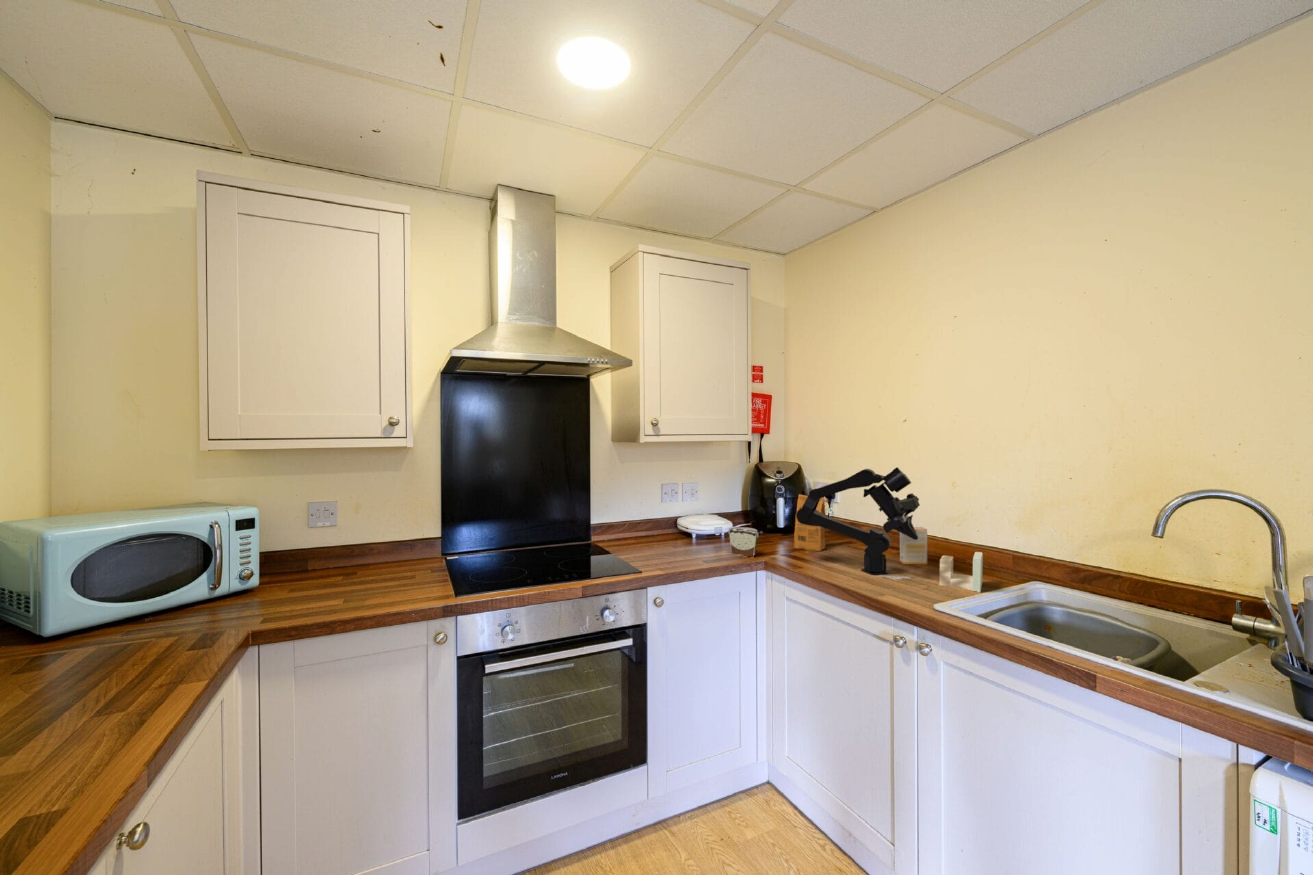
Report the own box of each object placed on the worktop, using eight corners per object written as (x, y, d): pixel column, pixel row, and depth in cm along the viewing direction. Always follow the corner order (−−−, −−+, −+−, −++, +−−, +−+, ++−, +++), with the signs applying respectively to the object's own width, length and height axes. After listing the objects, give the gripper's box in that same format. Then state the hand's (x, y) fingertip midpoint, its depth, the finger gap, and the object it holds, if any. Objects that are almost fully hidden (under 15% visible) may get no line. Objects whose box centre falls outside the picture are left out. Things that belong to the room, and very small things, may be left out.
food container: (763, 554, 205) (763, 529, 205) (757, 557, 200) (757, 531, 200) (734, 550, 212) (734, 525, 212) (727, 553, 207) (727, 528, 207)
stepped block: (939, 585, 166) (939, 560, 166) (942, 579, 173) (942, 555, 172) (972, 590, 161) (973, 564, 161) (974, 584, 167) (974, 559, 167)
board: (972, 591, 160) (972, 558, 160) (974, 582, 169) (975, 551, 169) (980, 592, 159) (980, 559, 158) (982, 583, 168) (982, 552, 167)
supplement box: (922, 561, 196) (922, 526, 195) (927, 565, 191) (927, 529, 191) (898, 561, 196) (899, 526, 196) (903, 564, 192) (904, 528, 191)
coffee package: (799, 544, 225) (799, 492, 224) (828, 548, 217) (828, 495, 217) (790, 548, 216) (790, 495, 216) (820, 552, 209) (821, 497, 209)
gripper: (897, 494, 167) (931, 535, 163) (912, 481, 181) (944, 519, 177) (869, 512, 173) (901, 552, 169) (886, 498, 188) (916, 535, 183)
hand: (916, 539), depth 174 cm, fingers closed
